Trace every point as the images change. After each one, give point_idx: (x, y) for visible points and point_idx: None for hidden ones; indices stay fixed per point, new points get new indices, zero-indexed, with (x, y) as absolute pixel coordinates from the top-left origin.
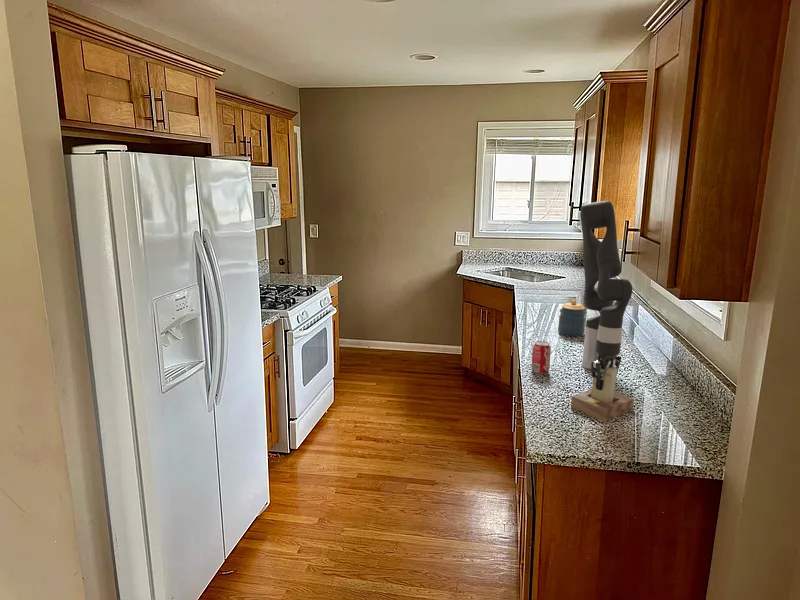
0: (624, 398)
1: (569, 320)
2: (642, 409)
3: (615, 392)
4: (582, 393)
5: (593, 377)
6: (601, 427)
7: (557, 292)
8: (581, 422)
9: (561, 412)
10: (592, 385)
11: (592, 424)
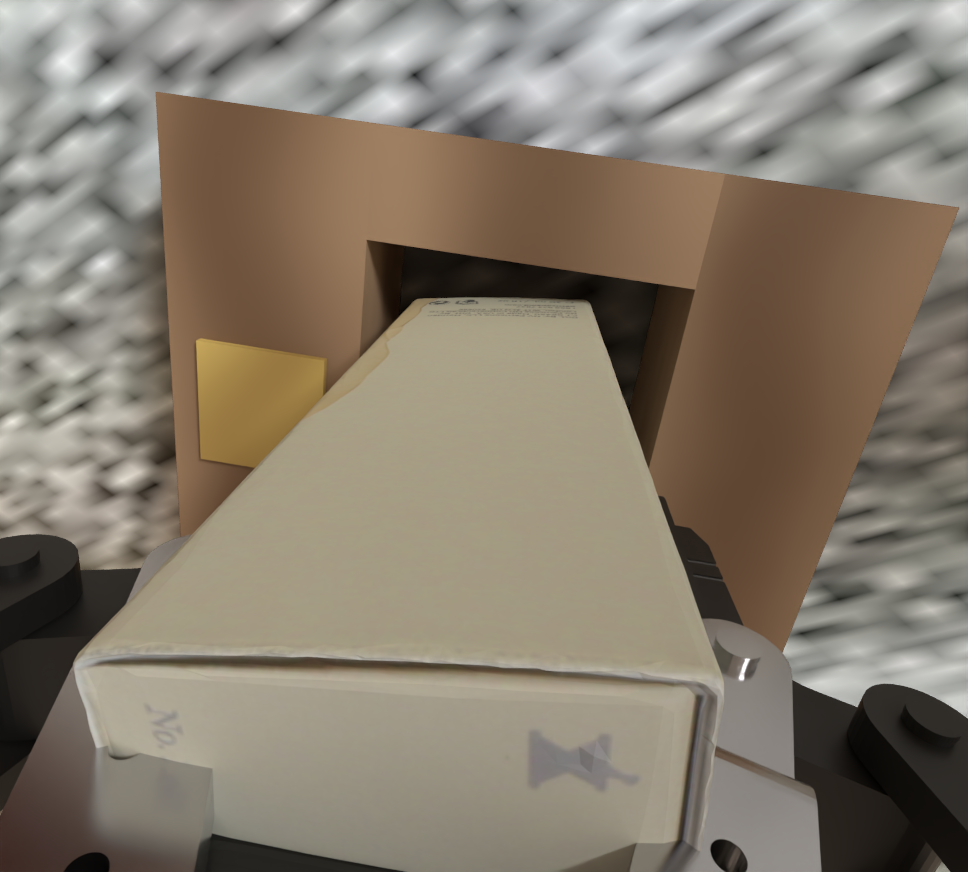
0: None
1: None
2: (804, 673)
3: (834, 492)
4: (409, 151)
5: (295, 426)
6: (116, 560)
7: None
8: (35, 399)
9: (27, 112)
10: (356, 362)
11: (94, 486)
